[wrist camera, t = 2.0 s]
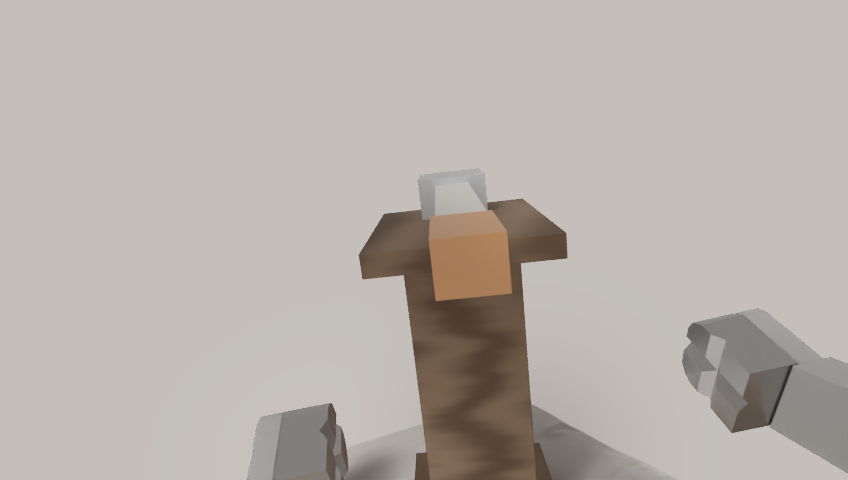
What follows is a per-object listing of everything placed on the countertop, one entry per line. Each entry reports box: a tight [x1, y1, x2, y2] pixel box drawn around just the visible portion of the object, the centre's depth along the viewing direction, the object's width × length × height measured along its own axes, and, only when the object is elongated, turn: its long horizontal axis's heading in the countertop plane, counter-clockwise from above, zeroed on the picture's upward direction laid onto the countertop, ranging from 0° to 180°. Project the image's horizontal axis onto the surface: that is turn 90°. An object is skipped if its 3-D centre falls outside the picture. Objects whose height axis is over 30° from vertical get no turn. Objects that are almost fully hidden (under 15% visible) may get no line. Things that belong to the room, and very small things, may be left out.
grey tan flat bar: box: [418, 169, 512, 301], centre depth 30 cm, size 5×23×3 cm, turn 179°
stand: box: [359, 199, 567, 480], centre depth 37 cm, size 12×14×26 cm
